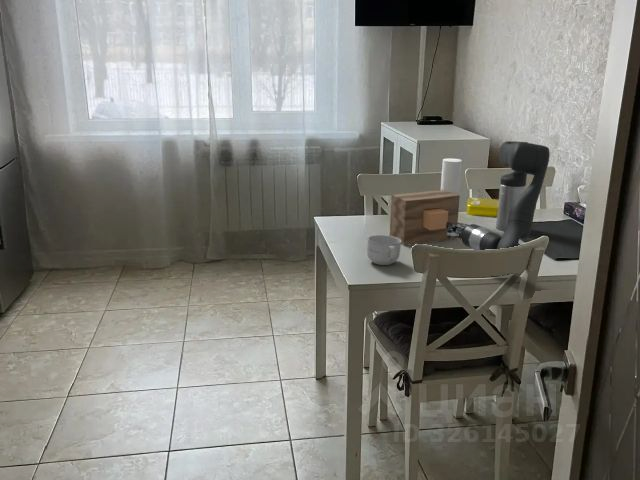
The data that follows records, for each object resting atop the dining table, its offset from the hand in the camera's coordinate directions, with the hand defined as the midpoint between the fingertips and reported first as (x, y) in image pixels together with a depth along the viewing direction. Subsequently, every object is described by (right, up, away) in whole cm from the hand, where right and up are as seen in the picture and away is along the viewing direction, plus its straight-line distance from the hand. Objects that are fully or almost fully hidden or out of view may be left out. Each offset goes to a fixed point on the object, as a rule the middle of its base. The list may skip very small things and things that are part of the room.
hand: (448, 224), depth 211 cm
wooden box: (-6, -4, +16) cm, 18 cm away
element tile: (+26, +6, +53) cm, 60 cm away
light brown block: (-4, 0, +9) cm, 10 cm away
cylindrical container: (+7, +1, +36) cm, 36 cm away
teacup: (-23, -13, -11) cm, 28 cm away
